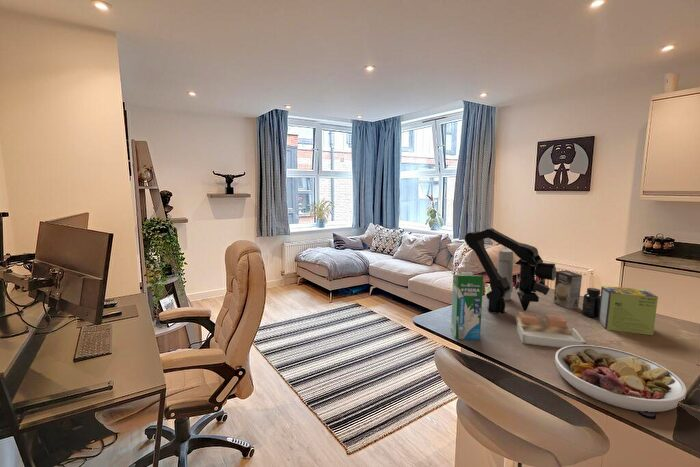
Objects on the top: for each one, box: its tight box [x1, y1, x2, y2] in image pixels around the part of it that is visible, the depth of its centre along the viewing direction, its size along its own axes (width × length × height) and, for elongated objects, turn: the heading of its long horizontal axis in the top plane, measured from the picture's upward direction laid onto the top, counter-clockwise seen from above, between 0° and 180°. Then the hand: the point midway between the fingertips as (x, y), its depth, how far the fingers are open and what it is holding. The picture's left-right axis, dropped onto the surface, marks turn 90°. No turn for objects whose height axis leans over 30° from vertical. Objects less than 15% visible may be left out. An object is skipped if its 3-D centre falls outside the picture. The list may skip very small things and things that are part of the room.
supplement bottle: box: [581, 287, 601, 319], centre depth 151 cm, size 7×7×12 cm
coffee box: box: [553, 269, 583, 310], centre depth 163 cm, size 9×6×16 cm
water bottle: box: [496, 248, 516, 302], centre depth 171 cm, size 9×8×25 cm
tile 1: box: [518, 311, 539, 325], centre depth 141 cm, size 6×6×2 cm
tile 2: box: [544, 313, 568, 328], centre depth 138 cm, size 6×6×2 cm
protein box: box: [597, 285, 659, 336], centre depth 138 cm, size 10×15×16 cm
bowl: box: [554, 344, 687, 413], centre depth 100 cm, size 30×30×8 cm
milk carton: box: [450, 271, 484, 341], centre depth 132 cm, size 9×9×25 cm
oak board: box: [515, 315, 572, 335], centre depth 139 cm, size 18×10×2 cm, turn 73°
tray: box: [516, 322, 587, 349], centre depth 128 cm, size 20×12×3 cm, turn 73°
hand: (524, 310), depth 148 cm, fingers closed
